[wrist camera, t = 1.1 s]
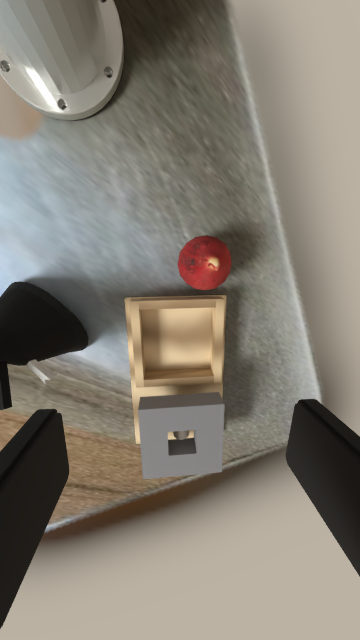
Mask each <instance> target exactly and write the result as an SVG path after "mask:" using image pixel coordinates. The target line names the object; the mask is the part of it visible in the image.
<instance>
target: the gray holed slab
mask: <svg viewBox="0 0 360 640" xmlns="http://www.w3.org/2000/svg"><path fill="white" fill-rule="evenodd" d="M224 408H225V404H224V402H223V399H222V397H221V395H220V393H219V392H210V393H195V394H179V395H163V396H147V397H140V401H139V407H138V417H139V431H140V444H141V457H142V471H143V479H152V478H163V477H173V476H184V475H194V474H205V473H216V472H222V455H223V432H224ZM187 430H194V438H186V439H183V440H178V439H171V440H168V432H174V431H187Z"/></svg>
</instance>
